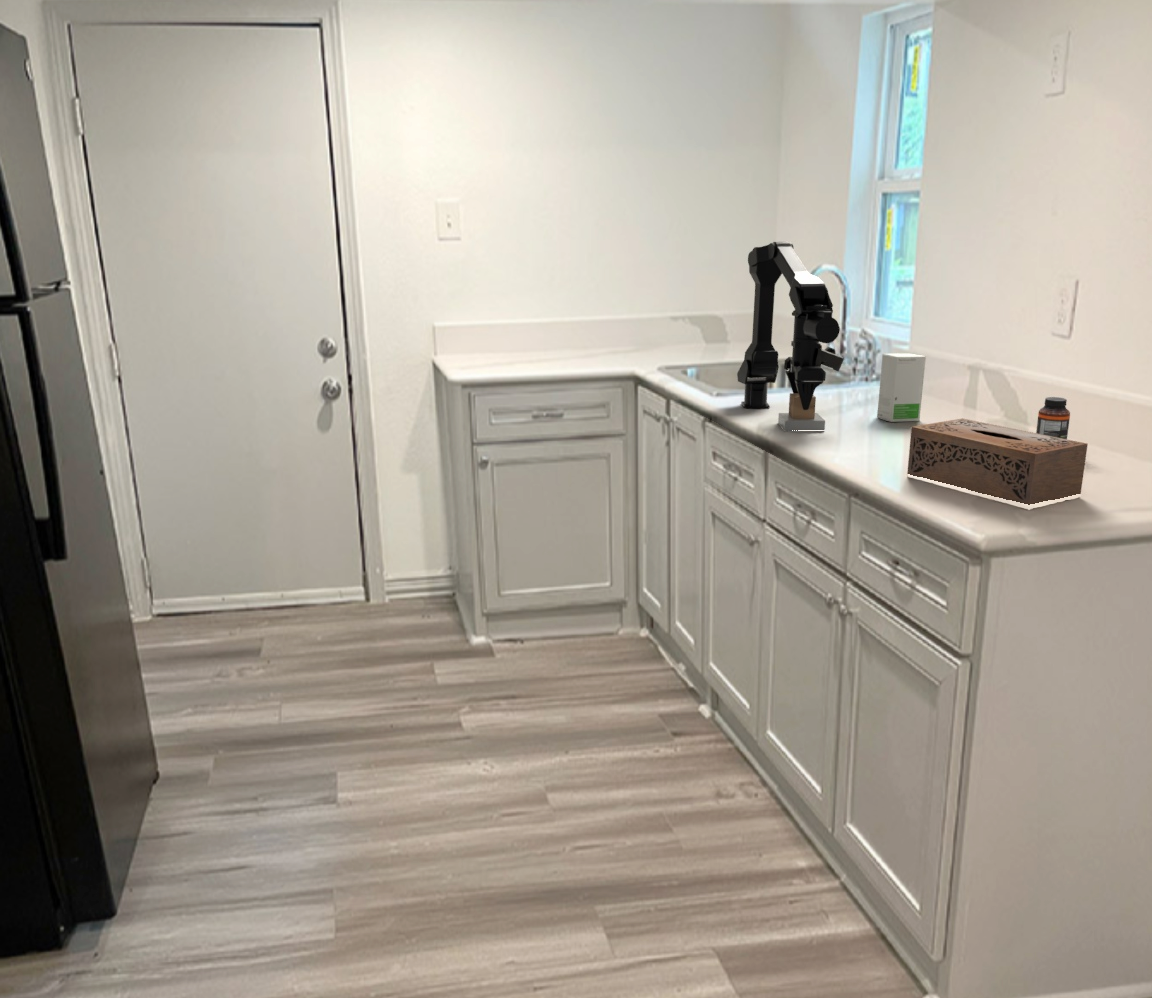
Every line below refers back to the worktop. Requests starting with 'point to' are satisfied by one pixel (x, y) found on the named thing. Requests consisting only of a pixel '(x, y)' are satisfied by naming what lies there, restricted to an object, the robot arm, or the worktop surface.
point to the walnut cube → (800, 408)
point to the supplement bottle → (1053, 418)
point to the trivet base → (801, 423)
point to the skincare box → (901, 387)
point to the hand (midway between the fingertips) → (802, 406)
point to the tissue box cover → (997, 460)
